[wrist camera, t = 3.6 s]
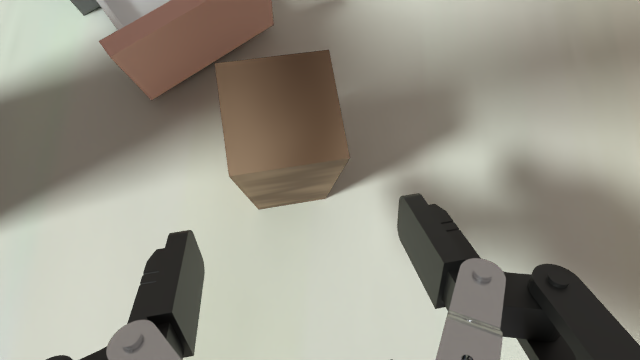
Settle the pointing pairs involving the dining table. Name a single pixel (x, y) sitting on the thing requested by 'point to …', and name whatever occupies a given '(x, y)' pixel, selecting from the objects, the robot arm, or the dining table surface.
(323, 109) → the walnut block
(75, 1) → the block
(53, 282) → the dining table surface
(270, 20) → the dock tray
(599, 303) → the robot arm
